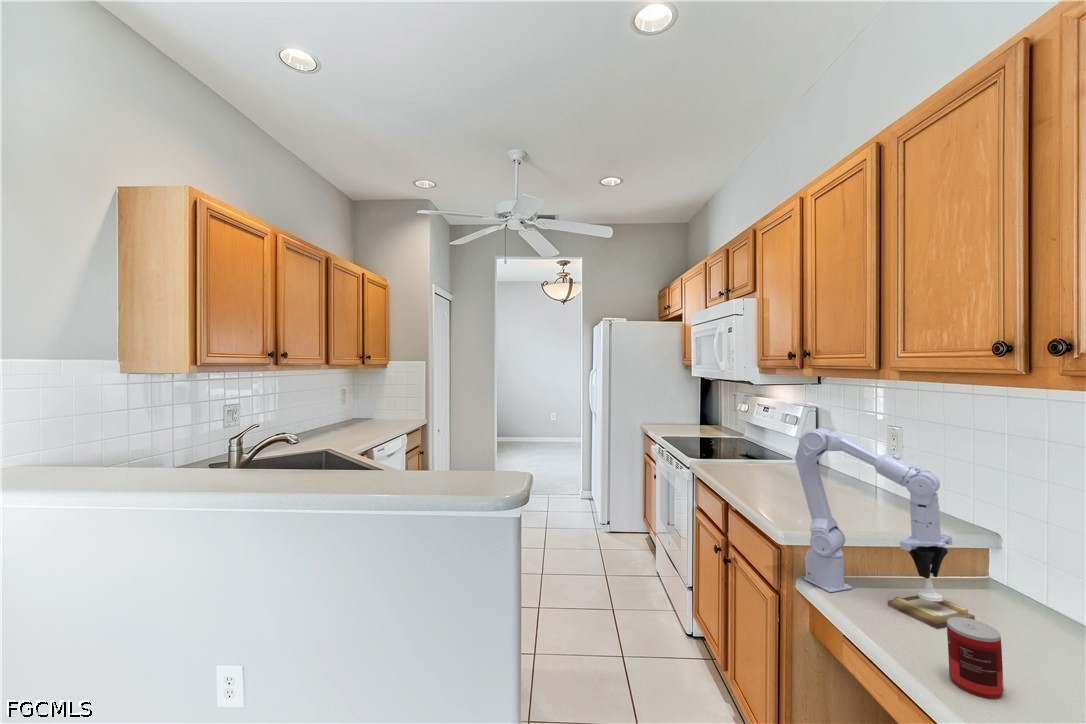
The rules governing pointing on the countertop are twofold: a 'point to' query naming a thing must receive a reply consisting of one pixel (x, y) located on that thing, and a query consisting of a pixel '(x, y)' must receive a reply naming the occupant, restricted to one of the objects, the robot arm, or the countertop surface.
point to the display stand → (929, 610)
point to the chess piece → (930, 591)
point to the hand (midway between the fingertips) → (928, 576)
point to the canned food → (975, 657)
